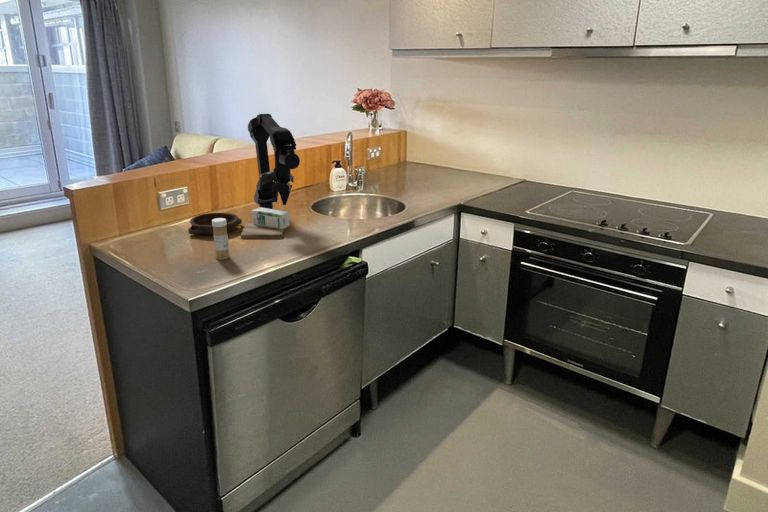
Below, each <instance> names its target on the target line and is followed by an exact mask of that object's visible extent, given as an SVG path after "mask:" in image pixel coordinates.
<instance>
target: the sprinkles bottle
mask: <svg viewBox="0 0 768 512" xmlns="http://www.w3.org/2000/svg"><path fill="white" fill-rule="evenodd" d="M212 226H213V232H214V235H213V244H214V251H215V259H216V260H223V261H224V260H228V259H229V258H230V253H229V251H230V250H229V237H228V232H227V228H226V226H227V222H226V219H225V218H216V219H213V220H212Z"/></svg>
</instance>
